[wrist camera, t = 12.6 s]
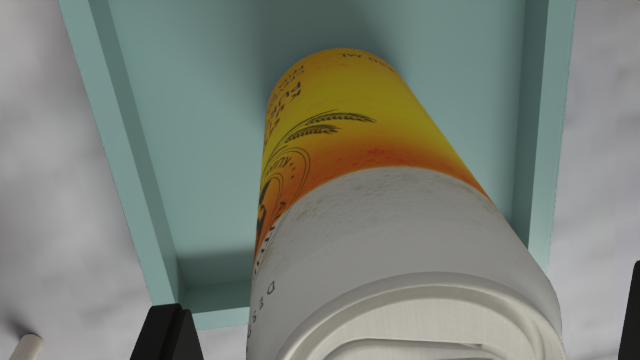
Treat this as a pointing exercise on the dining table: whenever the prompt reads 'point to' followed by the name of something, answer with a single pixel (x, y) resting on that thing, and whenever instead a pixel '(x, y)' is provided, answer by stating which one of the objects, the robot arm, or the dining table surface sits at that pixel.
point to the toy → (27, 348)
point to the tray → (251, 105)
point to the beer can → (382, 232)
